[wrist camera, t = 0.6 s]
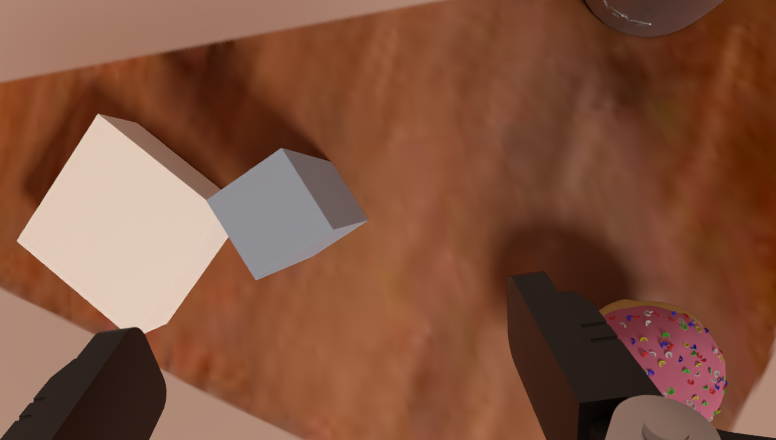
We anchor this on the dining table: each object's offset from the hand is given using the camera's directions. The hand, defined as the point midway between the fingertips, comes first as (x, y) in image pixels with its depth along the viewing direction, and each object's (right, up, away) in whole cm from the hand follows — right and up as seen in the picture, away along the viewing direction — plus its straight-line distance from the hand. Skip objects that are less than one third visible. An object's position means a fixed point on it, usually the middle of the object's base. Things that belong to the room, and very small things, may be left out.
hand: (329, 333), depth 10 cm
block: (-4, +3, +24) cm, 25 cm away
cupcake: (+17, -6, +22) cm, 28 cm away
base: (-17, +2, +26) cm, 31 cm away
